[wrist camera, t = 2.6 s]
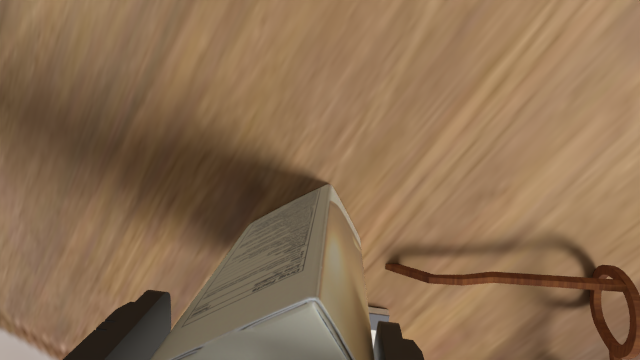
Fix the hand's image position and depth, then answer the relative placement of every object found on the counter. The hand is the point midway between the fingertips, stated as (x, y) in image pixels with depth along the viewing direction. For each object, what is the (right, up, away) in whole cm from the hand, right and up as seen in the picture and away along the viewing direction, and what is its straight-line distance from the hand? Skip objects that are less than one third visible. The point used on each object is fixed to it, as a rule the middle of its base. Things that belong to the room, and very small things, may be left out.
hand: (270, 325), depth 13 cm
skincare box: (+1, +2, +9) cm, 9 cm away
